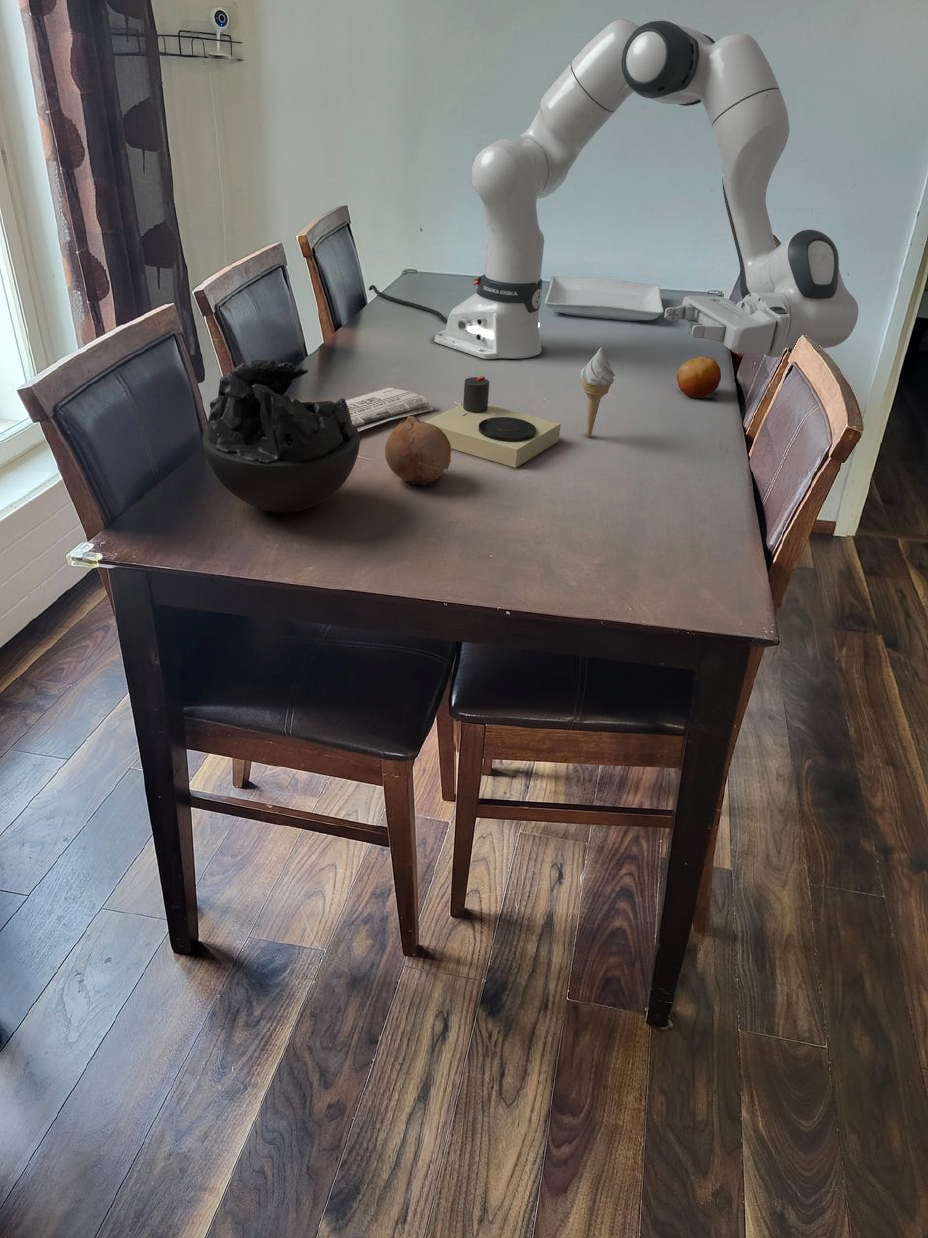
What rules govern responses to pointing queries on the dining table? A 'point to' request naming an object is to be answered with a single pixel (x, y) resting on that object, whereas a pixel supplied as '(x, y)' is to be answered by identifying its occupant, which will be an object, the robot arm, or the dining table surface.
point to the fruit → (699, 377)
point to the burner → (507, 429)
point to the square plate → (604, 298)
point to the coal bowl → (277, 439)
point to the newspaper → (384, 407)
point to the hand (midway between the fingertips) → (678, 322)
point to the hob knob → (476, 394)
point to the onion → (418, 451)
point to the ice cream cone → (596, 384)
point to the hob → (469, 439)
